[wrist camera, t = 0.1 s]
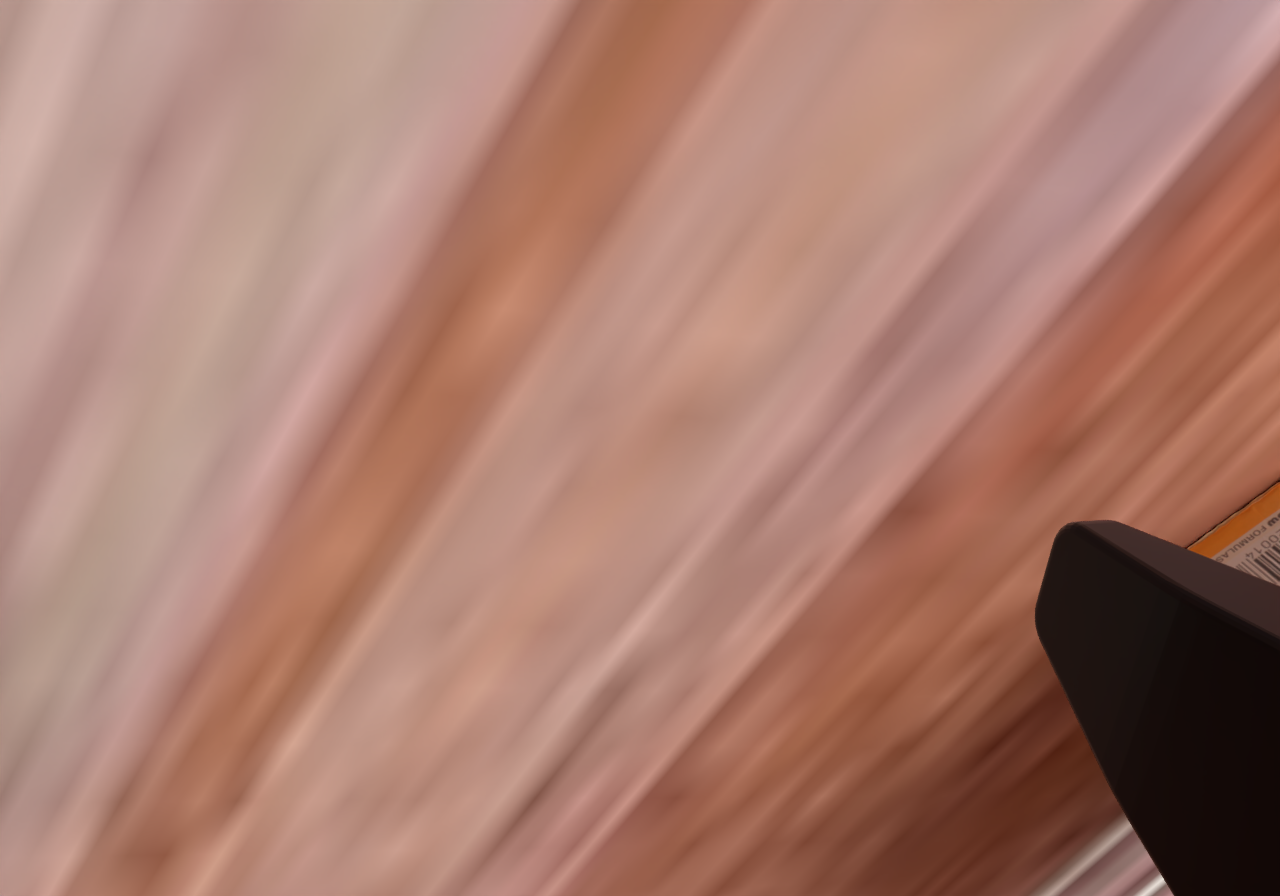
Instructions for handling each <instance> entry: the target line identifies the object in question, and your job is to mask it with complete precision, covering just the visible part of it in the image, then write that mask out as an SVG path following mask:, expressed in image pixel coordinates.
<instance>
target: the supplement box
mask: <svg viewBox="0 0 1280 896" xmlns="http://www.w3.org/2000/svg"><path fill="white" fill-rule="evenodd" d="M1187 549H1188V550H1190V551H1193V552H1195V553H1198V554H1201V555H1203V556H1206V557H1208V558H1211V559H1213V560H1216V561H1218V562H1221V563H1223V564H1226V565H1228V566H1231V567H1233V568H1236V569H1238V570H1241V571H1243V572H1246V573H1248V574H1251V575H1253V576H1256V577H1258V578H1261V579H1263V580H1266V581H1268V582H1271V583H1273V584H1276V585H1279V586H1280V482H1278V483H1277V484H1275V485H1274V486H1272V487H1271V488H1270V489H1269V490H1267V491H1266V492H1265V493H1263V494H1262V495H1260V496H1258V497H1257V498H1255V499H1254V500H1253V501H1252V502H1250V503H1249V504H1248V505H1247V506H1246V507H1245V508H1243V509H1242V510H1240V511H1238V512H1237V513H1234V514H1233V515H1232V516H1231V517H1229V518H1228V519H1227V520H1226V521H1224V522H1223V523H1221V524H1219V525H1218V526H1217V527H1216V528H1215V529H1213V530H1212V531H1210V532H1208V533H1207V534H1206V535H1204V536H1203V537H1202V538H1201V539H1200V540H1198V541H1197V542H1196V543H1194V544H1193V545H1191V546H1190V547H1188V548H1187Z"/></svg>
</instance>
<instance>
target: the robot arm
mask: <svg viewBox="0 0 1280 896" xmlns="http://www.w3.org/2000/svg"><path fill="white" fill-rule="evenodd" d="M1035 624H1036V629H1037V633H1038V636H1039V639H1040V641H1041V644H1042V646H1043V648H1044V650H1045V652H1046V654H1047V656H1048V658H1049V661H1050V663H1051V665H1052V667H1053V669H1054V671H1055V673H1056V675H1057V677H1058V680H1059V682H1060V684H1061V686H1062V688H1063V690H1064V692H1065V694H1066V697H1067V699H1068V701H1069V703H1070V705H1071V707H1072V709H1073V711H1074V714H1075V716H1076V718H1077V720H1078V722H1079V724H1080V726H1081V728H1082V730H1083V733H1084V735H1085V737H1086V739H1087V741H1088V743H1089V745H1090V747H1091V750H1092V752H1093V754H1094V756H1095V758H1096V760H1097V762H1098V764H1099V766H1100V768H1101V770H1102V772H1103V774H1104V776H1105V778H1106V780H1107V782H1108V784H1109V786H1110V788H1111V790H1112V792H1113V794H1114V796H1115V798H1116V799H1117V801H1118V803H1119V805H1120V806H1121V808H1122V810H1123V812H1124V813H1125V815H1126V817H1127V819H1128V820H1129V822H1130V824H1131V825H1132V827H1133V829H1134V830H1135V832H1136V834H1137V835H1138V837H1139V839H1140V840H1141V842H1142V844H1143V845H1144V847H1145V849H1146V850H1147V852H1148V854H1149V855H1150V857H1151V859H1152V860H1153V862H1154V864H1155V865H1156V867H1157V868H1158V870H1159V872H1160V873H1161V875H1162V877H1163V878H1164V880H1165V882H1166V883H1167V885H1168V887H1169V888H1170V890H1171V892H1172V893H1173V895H1174V896H1280V586H1279V585H1276V584H1273V583H1271V582H1268V581H1266V580H1263V579H1261V578H1258V577H1256V576H1253V575H1251V574H1248V573H1246V572H1243V571H1241V570H1238V569H1236V568H1233V567H1231V566H1228V565H1226V564H1223V563H1221V562H1218V561H1216V560H1213V559H1211V558H1208V557H1206V556H1203V555H1201V554H1198V553H1195V552H1193V551H1190V550H1188V549H1185V548H1183V547H1180V546H1178V545H1175V544H1173V543H1170V542H1168V541H1165V540H1163V539H1160V538H1158V537H1155V536H1153V535H1150V534H1148V533H1145V532H1143V531H1140V530H1138V529H1135V528H1133V527H1130V526H1128V525H1125V524H1122V523H1120V522H1117V521H1112V520H1097V521H1080V522H1071V523H1068V524H1066V525H1065V526H1063V527H1062V528H1061V529H1060V530H1059V532H1058V533H1057V534H1056V537H1055V539H1054V542H1053V546H1052V549H1051V553H1050V556H1049V560H1048V563H1047V567H1046V570H1045V574H1044V578H1043V581H1042V585H1041V588H1040V592H1039V595H1038V599H1037V603H1036V608H1035Z"/></svg>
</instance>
